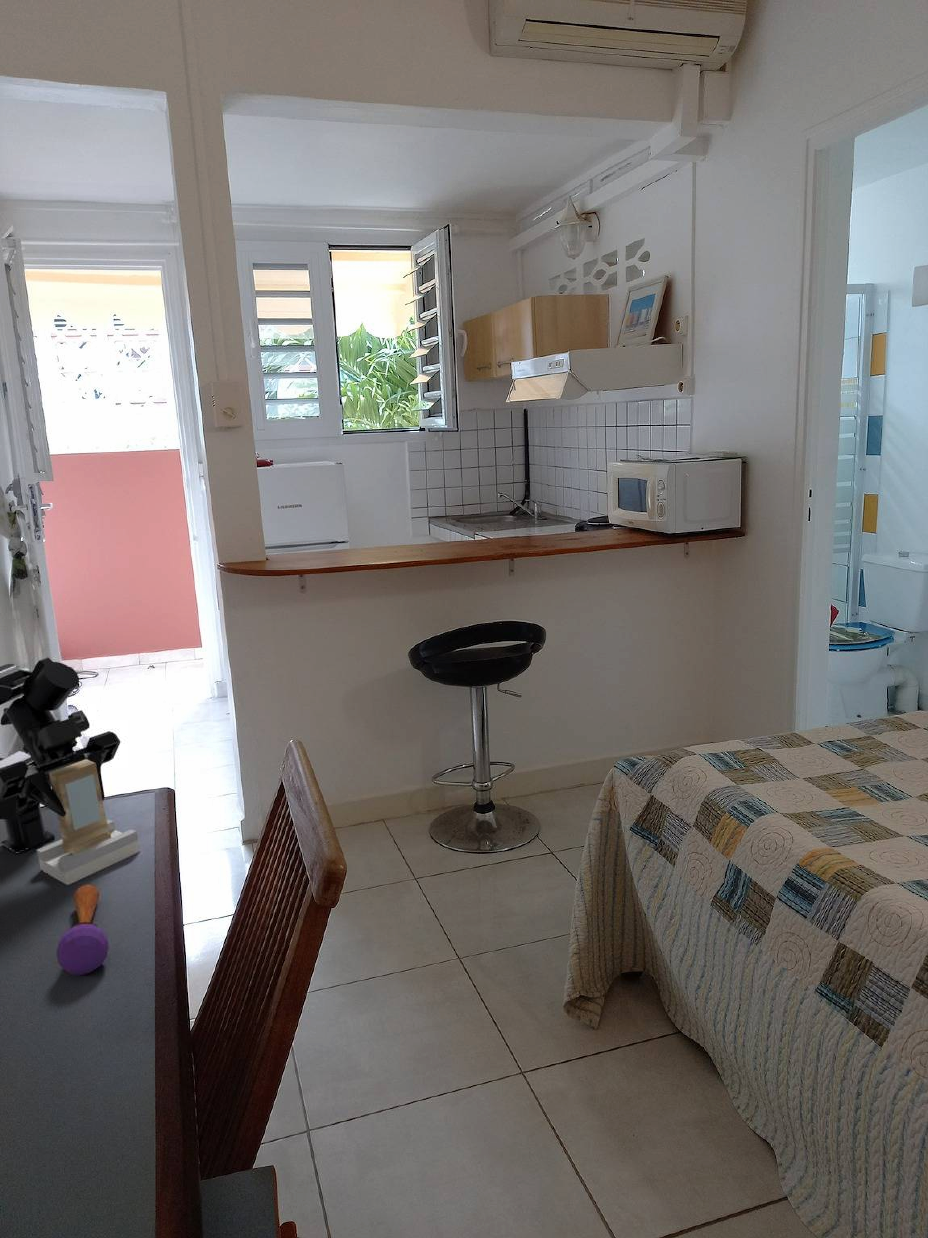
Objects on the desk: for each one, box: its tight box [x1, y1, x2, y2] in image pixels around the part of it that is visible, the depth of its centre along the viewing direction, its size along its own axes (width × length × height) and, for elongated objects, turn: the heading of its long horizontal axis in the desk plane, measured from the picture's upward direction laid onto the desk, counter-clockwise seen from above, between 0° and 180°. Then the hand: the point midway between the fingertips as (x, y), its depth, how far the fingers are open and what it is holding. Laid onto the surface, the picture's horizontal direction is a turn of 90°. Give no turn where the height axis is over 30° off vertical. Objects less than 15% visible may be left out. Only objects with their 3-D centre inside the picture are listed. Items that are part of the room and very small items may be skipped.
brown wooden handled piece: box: [55, 884, 110, 976], centre depth 115 cm, size 6×6×20 cm
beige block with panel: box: [49, 759, 111, 855], centre depth 136 cm, size 4×6×13 cm, turn 140°
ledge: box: [36, 818, 141, 886], centre depth 138 cm, size 9×12×4 cm
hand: (84, 807), depth 135 cm, fingers closed on beige block with panel, 6 cm apart
